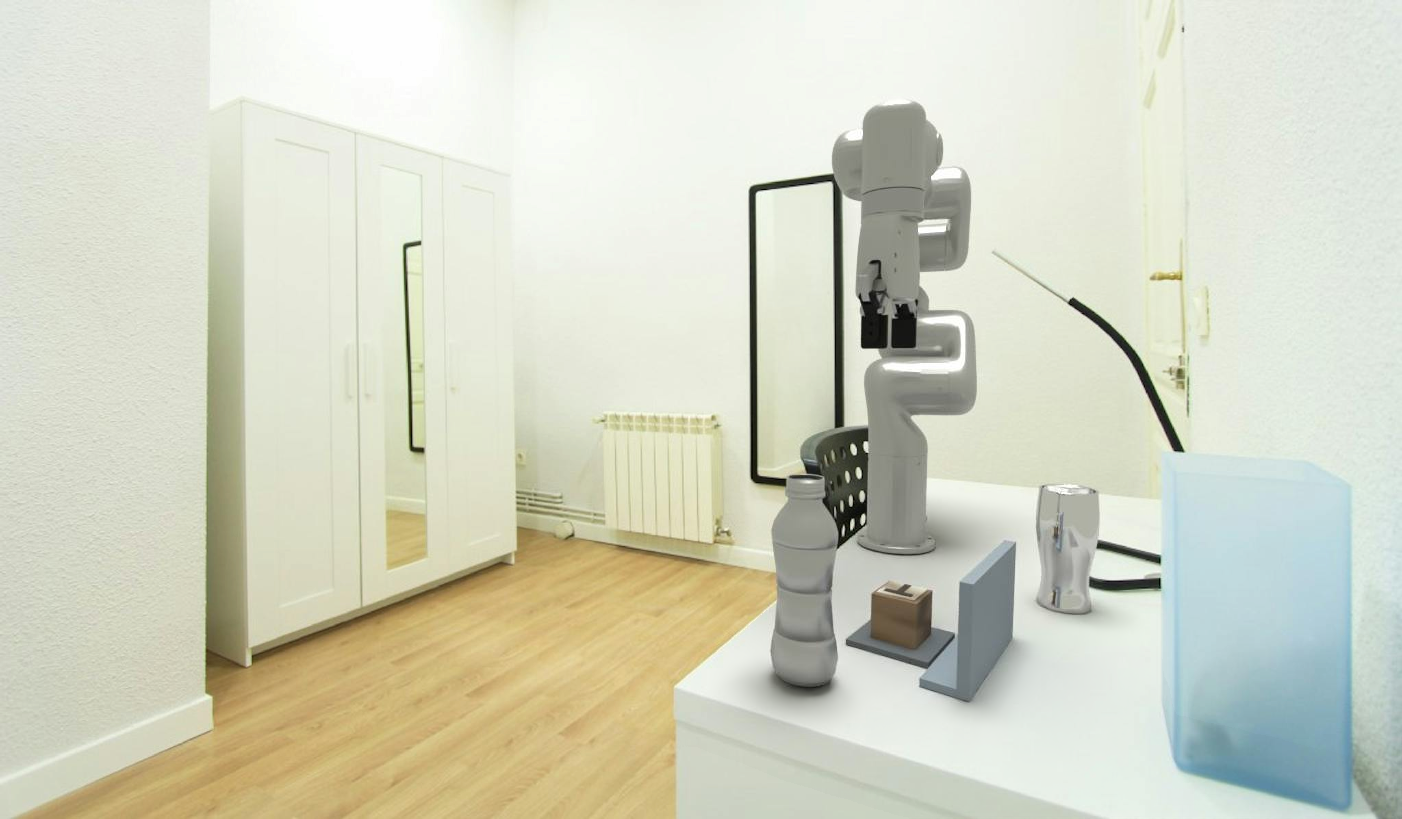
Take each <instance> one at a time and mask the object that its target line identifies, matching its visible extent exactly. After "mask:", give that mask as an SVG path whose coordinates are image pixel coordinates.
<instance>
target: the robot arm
mask: <svg viewBox="0 0 1402 819" xmlns="http://www.w3.org/2000/svg"><path fill="white" fill-rule="evenodd" d="M831 152H832V153H831V166H832V172H833V177H834V180H835V182H836V184H837V186H838V188H839V191H840V192H841V193H842V195H844V196H845V197H846V198H848V199H850V200H853V201H857V202H860V211H861V212H860V229H859V230H860V231H859V235H858V236H859V237H858V242H857V243H858V245H857V254H856V268H855V269H856V270H855V271H856V272H855V289H854V290H855V292H854V293H855V297H856V298H857V299H858V300H859V303H860V307H859V314H860V348H861V349H864V350H872V349H874V350H878V354H879V356H880V357H881V358H879V359H876V360H874V361H873V362H871V363H870V364H869V365H868V367H867V368H866V370H865V372H864V376H863V387H864V395H865V404H866V411H867V412H866V413H867V425H868V426H867V427H868V428H867V430H868V433H867V434H868V435H867V438H868V440H867V442H868V445H867V447H868V448H867V449H868V450H867V451H868V455H867V496H866V498H867V500H866V502H867V503H866V507H867V508H866V510H867V511H866V529H864V530H861V531H860V532H858V533H857V535H856V537H857V538H856V540H857V543H858V544H859V545H860V546H862V547H864V548H866V549H869V550H873V551H876V552H880V553H887V554H896V555H897V554H898V555H917V554H918V555H919V554H924V553H929V552H931V551H933V550H934V549H935V547H936V540H935V539H934V538H933V536H931V535H929V534H927V533H926V527H927V526H926V525H927V524H926V523H927V521H928V516H927V485H928V484H927V481H928V454H929V453H928V452H929V451H928V450H929V449H928V448H929V446H928V440H927V437H926V435H925V433H924V432H923V430H921V428H920V427H919V426H918V425H917V423H915V422H914V421H913V419H912V416H961V415H966V414H968V413H969V412H970V411H972V409H973V408H974V405H975V403H976V399H977V392H978V379H977V378H978V376H977V374H978V372H977V351H976V350H977V349H976V348H977V347H976V334H975V326H974V322H973V320H972V318H971V317H970V316H969V315H968V314H967V313H966V312H965V311H963V310H956V309H930V298H929V296H928V293H927V292H926V291H925V289H924V288H923V287H922V286H921V284H920V282H921V281H920V278H921V276H920V275H921V273H929V272H931V273H933V272H934V273H935V272H950V271H954V270H957V269H960V268H961V267H963V266H964V264H965V263H966V261H967V258H968V255H969V254H968V253H969V248H970V247H969V244H970V228H971V227H970V226H971V214H972V213H971V212H972V211H971V210H972V187H971V181H970V178H969V175H968V173H967V171H966V170H965V169H964V168H962V167H961V166H955V165H952V166H943V167H941V165H942V162H943V159H944V140H943V136H942V134H941V133H940V132H938V130H937V129H936V126H934V124H933V123H931V121H929V120H928V119H927V114H926V110H925V108H924V106H923V105H921V104H920V103H918V102H917V101H914V100H910V99H909V100H908V99H894V100H889V101H883V102H880V103H878V104H876V105H874V106H872V107H870V109H868V110H867V112H866V113H865V114H864V117H863V120H862V127H861V128H855V129H850V130H846V131H844V132H842V133H841V134H839V135H838V137H837V138H836V140H835V142H834V145H833V147H832V151H831ZM936 220H938V221H939V220H947V223H932V224H931V223H929V224H920V223H922V222H923V221H924V222H925V221H936Z"/></svg>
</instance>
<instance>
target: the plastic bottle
mask: <svg viewBox="0 0 1402 819" xmlns="http://www.w3.org/2000/svg"><path fill="white" fill-rule="evenodd" d="M785 480H786V482H785V484H786V485H785V488H786V489H785V492H784V495H785V496H786V497H787V498H788V499H787V501H786V502H785V504H784V505H783V506H782V508H781V509H780V510H779V512H778V513H777V514H776V516H775V518H774V520H773V523H772V525H771V530H770V532H771V541H772V550H773V556H774V563H775V564H774V565H775V579H776V608H775V616H774V617H775V619H774V628H773V631H772V636H771V642H770V651H769V652H770V657H771V663H772V668H773V670H775V673H776V674H777V675H778V677H779V678H780V679H781V680H783V681H784V682H786V683H788V684H791V685H794V686H797V687H798V686H799V687H804V688H812V687H821V686H823V685H825V684H827V683H829V682H830V680H832V678H833V677H834V675H835V674H836V671H837V670H836V669H837V666H838V660H839V656H838V655H839V652H838V646H837V639H836V634H835V631H834V618H833V615H834V614H833V602H832V600H833V589H832V588H833V581H834V568H835V561H836V556H837V549H838V542H839V531H838V527H837V523H836V522H835V519H834V517H833V516H832V514H831V512H830V511H829V510H828V508H827V507H826V506H825V504H824V503H823V499H824V498H826V490H825V484H826V483H825V481H826V480H825V476H823V475H819V474H813V473H794V474H793V473H791V474H788V475H787V476H786V479H785Z"/></svg>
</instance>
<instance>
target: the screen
mask: <svg viewBox="0 0 1402 819" xmlns="http://www.w3.org/2000/svg"><path fill="white" fill-rule="evenodd" d="M1016 552H1017V542H1016V541H1013V540H1003V541H1002V542H1001V543H999V545H997V546H996V547H995V548H994V549H993V550H992V551H991V552H990V553H988V555H987V556H986V557H984V558H983V559H982V560H981V561H980V562H979V563H978V564H977V565H976V566H975V567H974V568H972V570H970V571H969V572H968V573H967V574H966V575H965V576H964V577H962V579H961V580H960V581H959V587H958V588H959V589H958V590H959V591H958V618H957V619H958V620H957V621H958V622H957V635H955V638H954V639H953V641H952V642H951V643H950V644H949V645H948V646H947V647H946V649H945V650H944V651H943V652H942V653H941V654H940V655H939V656H938V658H937V659H936V660H935V661H934V662H933V663H932V664H931V666H930V667H929V668H926V670H925V671H924V672H923V674H921V676H920V677H919V683H918V685H919V687H921V688H924V689H927V690H931V691H933V692H937V693H939V694H944V695H947V696H950V697H952V698H956V699H959V700H963V701H966V702H968V703H969V702H971V700H972V699H973V697H974V696H975V695H976V693H977V692H978V690H979V688H980V687H981V686H982V684H983V683H984V681H985V680H986V678H987V676H988V675H989V674H990V673H991V671H992V669H993V668H994V667H995V665H996V664H997V662H998V660H999V659H1000V658H1001V656H1002V654H1003V653H1004V651H1005V650H1006V649H1007V647H1008V646H1009V644H1010V642H1011V641H1012V640H1013V638H1014V634H1013V633H1014V611H1015V610H1014V605H1015V584H1016V581H1015V580H1016V559H1017V558H1016V555H1017V553H1016Z"/></svg>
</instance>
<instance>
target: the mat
mask: <svg viewBox="0 0 1402 819" xmlns="http://www.w3.org/2000/svg"><path fill="white" fill-rule="evenodd" d="M955 637H956V632H953V631H949V630H945V629H942V628H938V627H933V626H932V627H931V635H930V636H929V637H928V638H927V639H926V640H925V641H924V642H923V643H922V644H921V645H920V646H919V647H918V648H917V649H916V650H913V649H910V648H906V647H903V646H899V645H896V644H892V643H889V642H885V641H882V640H878V639H874V638H871V619H869V620H868V621H867V622H865V623H864V624H863V625H861V626H860V627H859V628H857V629H856V631H854V632H852V633H851V635H849V636H847V637H846V638H845V645H846V646H850V647H854V648H856V649H860V650H863V651H867V652H871V653H875V654H876V655H881V656H884V657H887V658H890V659H894V660H897V661H900V662H905V663H908V664H911V665H915V666H918V667H922V668H925V669H928V668H929V667H930V666H931V664H932V663H933V662H934V661H935V660H936V659H937V658H938V656H939V655H940V654H941V653H942V652H943V651H944V650H945V649H946V647H947V646H948V645H949V644H950V643H951V642H952V641H953V639H954V638H955Z"/></svg>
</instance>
